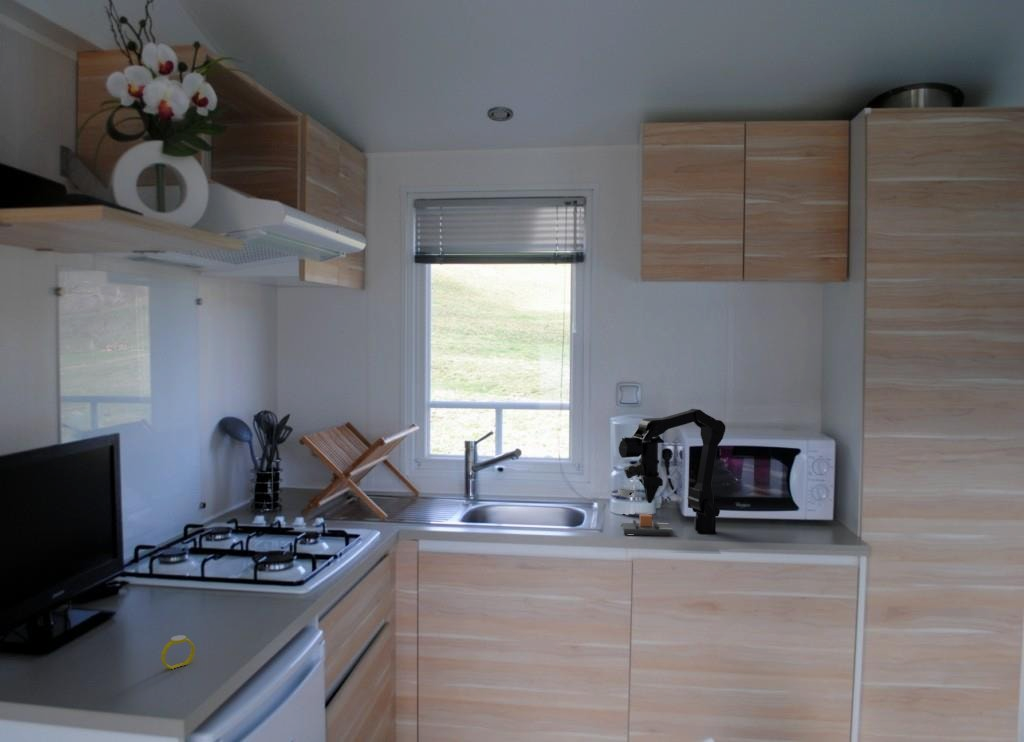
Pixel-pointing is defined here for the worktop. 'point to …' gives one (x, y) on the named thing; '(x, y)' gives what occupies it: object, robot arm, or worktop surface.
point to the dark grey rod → (649, 533)
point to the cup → (625, 492)
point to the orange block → (645, 520)
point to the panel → (645, 527)
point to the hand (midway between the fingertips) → (649, 502)
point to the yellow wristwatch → (178, 640)
